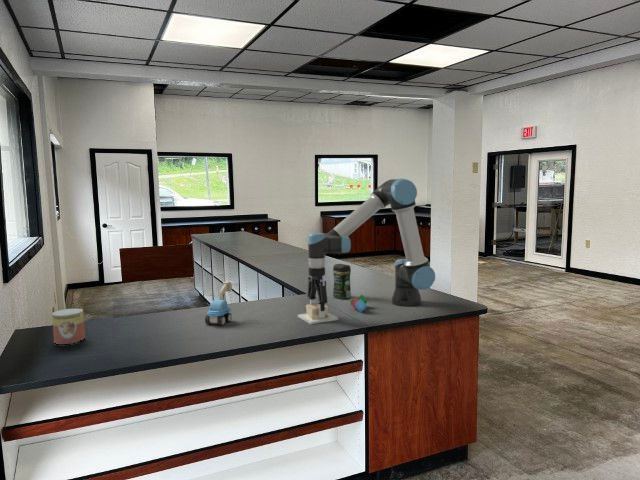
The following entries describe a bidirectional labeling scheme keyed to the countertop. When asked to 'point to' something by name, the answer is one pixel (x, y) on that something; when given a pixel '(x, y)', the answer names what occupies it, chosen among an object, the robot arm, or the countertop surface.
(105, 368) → the countertop surface
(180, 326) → the countertop surface
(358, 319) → the countertop surface
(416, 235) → the robot arm
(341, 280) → the coffee jar
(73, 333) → the canned food
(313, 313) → the maple brick
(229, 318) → the toy excavator
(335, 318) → the plate
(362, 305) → the building blocks
